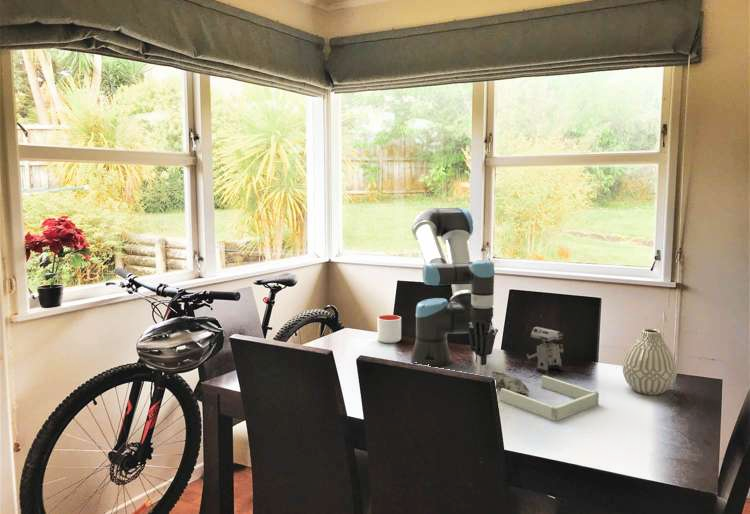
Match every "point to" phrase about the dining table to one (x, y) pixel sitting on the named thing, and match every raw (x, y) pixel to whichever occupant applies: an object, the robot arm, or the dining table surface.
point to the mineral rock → (509, 383)
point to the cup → (389, 328)
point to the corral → (581, 402)
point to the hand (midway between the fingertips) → (480, 373)
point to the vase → (649, 364)
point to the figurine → (547, 349)
